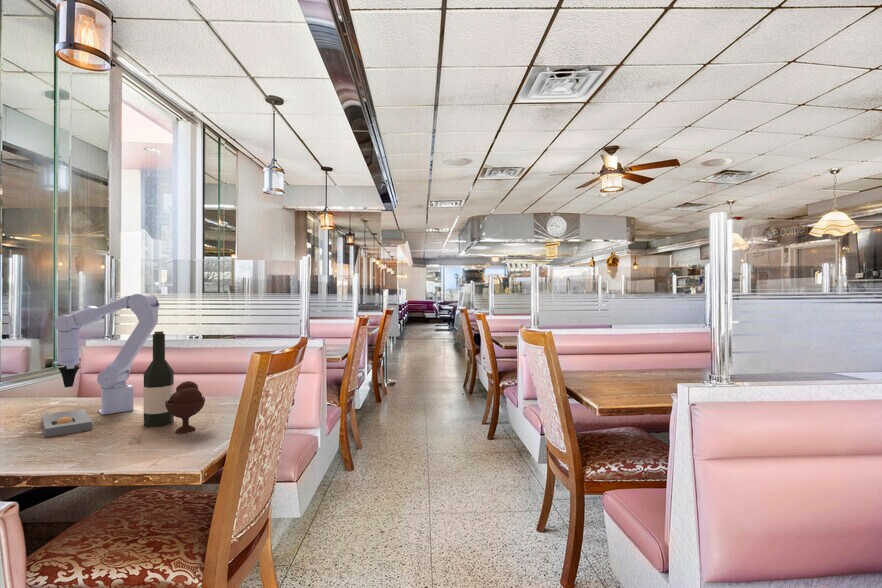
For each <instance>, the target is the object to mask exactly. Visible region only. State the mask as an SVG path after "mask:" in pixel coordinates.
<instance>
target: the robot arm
mask: <svg viewBox="0 0 882 588" xmlns="http://www.w3.org/2000/svg"><path fill="white" fill-rule="evenodd" d="M160 305H161V304H160V303H159V300H158V298H157V297H156V296H155V295H154V294H152V293H145V294H144V293H134V294H131V295H127V296H124V297H121V298H118V299H116V300H113V301H111V302H110V301H109V302H108V303H107V304H104V305H101V306H95V305H86V306H83V309H80V310H77V311H74V310H73V311H70V312H69V313H70V314H61V315H60V316H57V317H56V319H55V320H54V322H53V323H54V324H53V326H54V327H55V329H56V330H58V331H57V335H58V336H57V338H58V339H57V341H58V342H57V344H58V345H57V347H58V348H57V349H58V351H57V361H54V362H53V364H54V365H59V366H60V365H61V366H62V367H58V368H57V370H59V373H60V374H61V378H62V382H63V386H64V388H73V386H74V384H75V378H76V375H77V372H78V370H79V369H80V367H79V365H77V364H79V363H80V361H81V360H80V330H81V328H82V327H85V326H88V325H91V324H94V323H97V322H100V321H101V320H102V318H103V316H105V315H108V314H111V313H115V312H117V311H120V310H123V309H126V310H128V309H130V311H131V312H133V314H134V315H135V316H136V318H137V320H138V323H137V324H136V326H135V327H134V329H133V331H132V332H131V334H130V335H129V337H128V338H127V340H126V342H125V344H123V346H122V348H121V350H119V352H118V354H117V356H115V359H114V360H113V361H111V362H110V363H109V364H107V366H106V368H105V369H103V370H102V371H100V372H99V373H98V375H97V376H96V377H97V379H96V381H97V383H98V386H100V388H101V389H100V390H101V391H100V393H101V395H100V396H101V397H100V400H101V401H100V409H98V412H99V413H100V415H101V416H104V415H109V414H116V413H117V414H118V413H123V412H124V413H125V412H129V411H130V412H131V411H134V410H135V409H134V387H133V384H127V383H126V382H127V381H128V379H129V377H130V372H131V369H132V368H133V367H132V364H133V362H134V360H135V359H136V356H137V355H138V354H139V353H140V351H141V349H142V348H143V346H144V344H145V343H146V341H147V340H148V338H149V337H150V336H151V333H153V330H154V329H155V327H156V326H157V325H158V321H159V308H160V307H161V306H160Z"/></svg>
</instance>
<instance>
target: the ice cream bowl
mask: <svg viewBox="0 0 882 588" xmlns="http://www.w3.org/2000/svg"><path fill="white" fill-rule="evenodd" d="M198 386H199V385H198V384H197V382H194V381H191V380H188V381H187V380H186V381H183V382H181V383H180V384H179V385H177V387H176V388H175V392H174V394H172V395H171V397H170V399H169V400H168V401H166V402H165V405H166V409H167V411H168V412H169V413H170V414H172V415H173V416H174V418H177V419H181V421H182V424H181V426H179V427H178V428H177V429H176V430H175V434H178V433H183V434H188V432H190V433H192V432H193V433H194V432H195V431H196V427H195V426H192V425H190V424H189V420H190V418H191V417H193V416H195V415H197V414H198V413H199V412H200V411H201V410H202V409H203V408H204V405H205V401H206V397H205V396H203V393H202V392H201V391H200V389H199V387H198Z"/></svg>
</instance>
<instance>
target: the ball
mask: <svg viewBox="0 0 882 588" xmlns="http://www.w3.org/2000/svg"><path fill="white" fill-rule="evenodd" d="M69 422H73V420H72V419H71V418H70V417H62V418H60V419H59V420H58V421H57V423H56V424H63V423H69Z"/></svg>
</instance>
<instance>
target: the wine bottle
mask: <svg viewBox="0 0 882 588" xmlns="http://www.w3.org/2000/svg"><path fill="white" fill-rule="evenodd" d="M174 372H175V370H174V369H173V368H172V367H171V366H170V364H169V363H168V361H167V360H166V333H164V331H163V330H161V331H160V330H159V331H158V330H156V331H154V333H153V334H152V361H151V362H150V364H149V365H148V367H147V368H146V370H145V371H144V373H143V427H146V428H156V427H157V428H161V427H164V426H168V425H172V424H173V423H174V422H175V416H173V415H172V414H170V413H169V412H168V411H167V409H166V405H165V402H166V401H168V400H169V399H170V397H171V395H172V394H174V393H175V392H174V391H175V389H174V387H175V385H174V384H175V383H174V382H175V377H174V374H175V373H174Z"/></svg>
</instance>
